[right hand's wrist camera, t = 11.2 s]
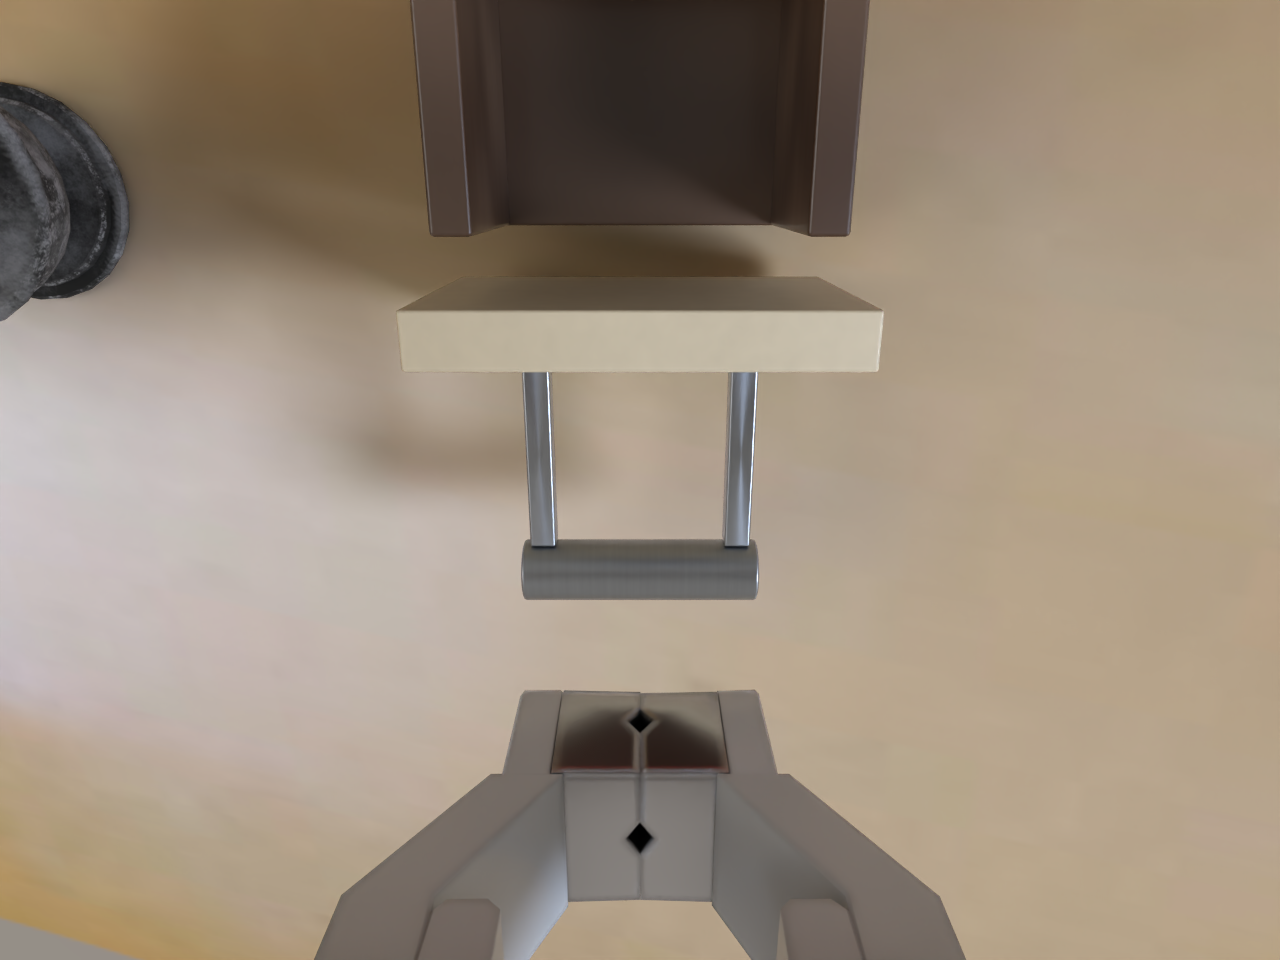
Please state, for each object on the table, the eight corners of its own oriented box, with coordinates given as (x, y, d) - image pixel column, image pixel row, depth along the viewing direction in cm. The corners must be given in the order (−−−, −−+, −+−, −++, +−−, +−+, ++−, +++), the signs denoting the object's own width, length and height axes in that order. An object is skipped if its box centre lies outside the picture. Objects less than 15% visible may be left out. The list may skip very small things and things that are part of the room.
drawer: (800, 538, 23) (851, 649, 18) (480, 537, 23) (428, 649, 18) (889, -691, 15) (1040, -1221, 9) (389, -691, 15) (239, -1220, 9)
